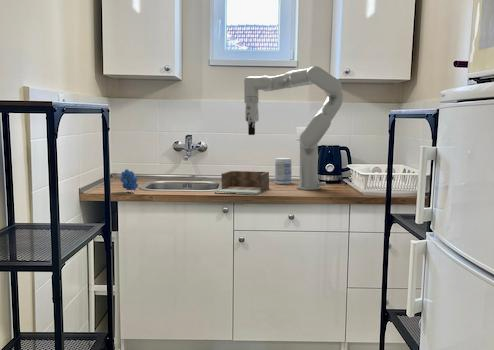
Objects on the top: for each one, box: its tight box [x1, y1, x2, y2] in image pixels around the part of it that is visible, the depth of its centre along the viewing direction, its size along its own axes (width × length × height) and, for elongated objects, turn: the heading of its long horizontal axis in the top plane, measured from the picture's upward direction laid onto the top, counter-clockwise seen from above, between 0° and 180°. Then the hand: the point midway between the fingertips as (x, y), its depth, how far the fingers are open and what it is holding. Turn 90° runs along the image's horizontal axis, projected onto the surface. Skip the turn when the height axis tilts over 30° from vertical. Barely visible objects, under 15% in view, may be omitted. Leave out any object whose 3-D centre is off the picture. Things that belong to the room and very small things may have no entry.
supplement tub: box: [274, 157, 292, 185], centre depth 275 cm, size 10×10×15 cm
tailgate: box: [214, 188, 262, 196], centre depth 240 cm, size 22×1×9 cm
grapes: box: [120, 168, 139, 191], centre depth 244 cm, size 12×7×12 cm, turn 59°
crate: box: [221, 170, 270, 193], centre depth 252 cm, size 22×15×9 cm, turn 73°
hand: (251, 134), depth 254 cm, fingers closed
